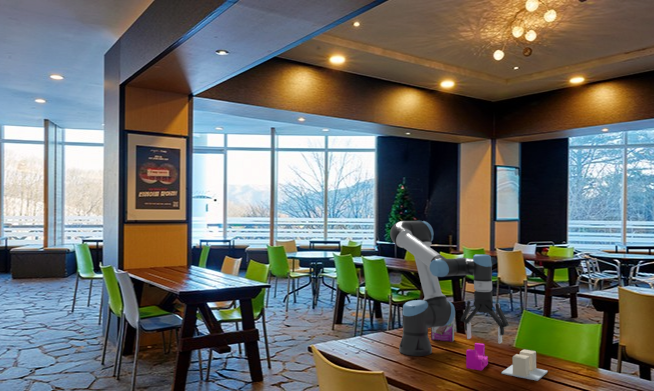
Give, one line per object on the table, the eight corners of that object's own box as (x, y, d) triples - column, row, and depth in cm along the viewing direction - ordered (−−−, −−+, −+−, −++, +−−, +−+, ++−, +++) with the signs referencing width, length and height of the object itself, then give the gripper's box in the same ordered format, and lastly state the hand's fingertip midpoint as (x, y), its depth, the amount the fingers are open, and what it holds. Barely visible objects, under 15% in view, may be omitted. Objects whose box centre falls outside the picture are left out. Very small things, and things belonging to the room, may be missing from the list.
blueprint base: (501, 373, 201) (501, 354, 201) (513, 365, 212) (512, 347, 212) (537, 380, 192) (537, 360, 192) (547, 372, 203) (547, 353, 203)
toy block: (481, 371, 205) (481, 352, 205) (466, 368, 208) (466, 350, 209) (490, 362, 218) (490, 344, 218) (476, 359, 221) (476, 342, 221)
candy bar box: (430, 340, 256) (430, 308, 256) (433, 337, 260) (432, 306, 261) (452, 342, 251) (452, 309, 252) (454, 340, 256) (454, 308, 256)
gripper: (452, 289, 219) (453, 338, 217) (509, 293, 203) (510, 346, 202) (459, 287, 225) (460, 335, 223) (515, 291, 209) (516, 343, 208)
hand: (484, 340), depth 213 cm, fingers open, 13 cm apart
